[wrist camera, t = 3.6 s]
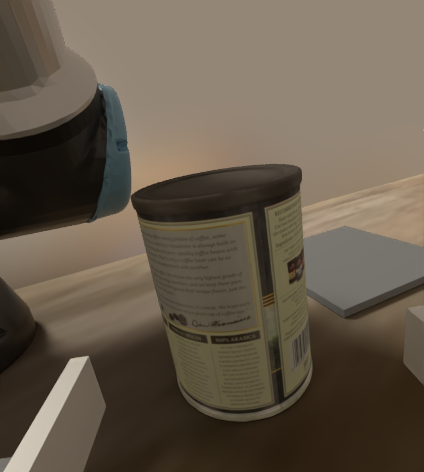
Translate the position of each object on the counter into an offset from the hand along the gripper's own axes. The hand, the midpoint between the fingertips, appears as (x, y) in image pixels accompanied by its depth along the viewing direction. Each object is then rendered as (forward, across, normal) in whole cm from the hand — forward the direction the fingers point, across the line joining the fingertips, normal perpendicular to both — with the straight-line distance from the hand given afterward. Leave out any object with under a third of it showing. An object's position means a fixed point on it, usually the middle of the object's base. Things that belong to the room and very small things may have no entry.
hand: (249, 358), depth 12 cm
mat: (+22, +14, -8) cm, 27 cm away
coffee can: (+8, 0, -8) cm, 11 cm away
